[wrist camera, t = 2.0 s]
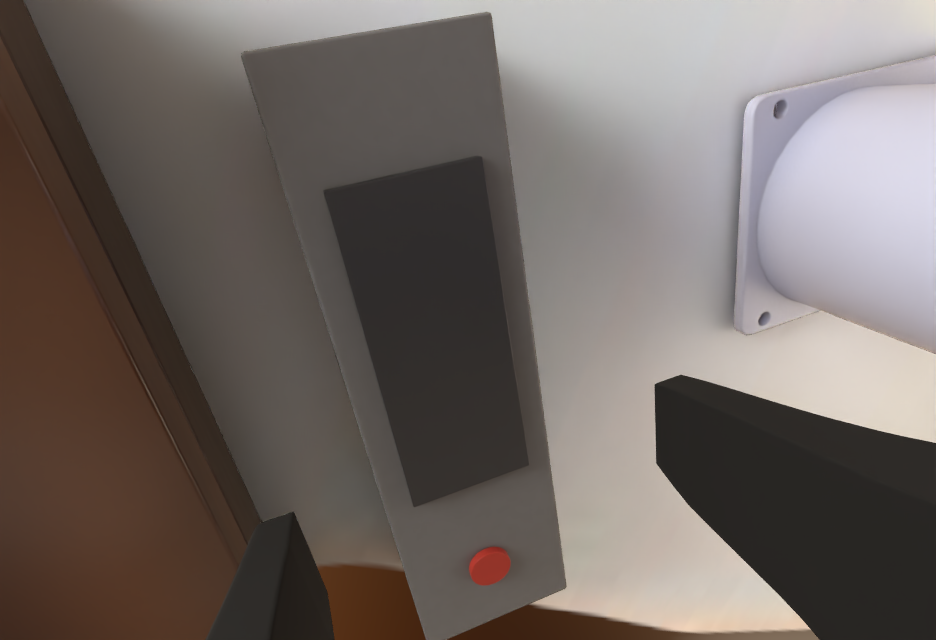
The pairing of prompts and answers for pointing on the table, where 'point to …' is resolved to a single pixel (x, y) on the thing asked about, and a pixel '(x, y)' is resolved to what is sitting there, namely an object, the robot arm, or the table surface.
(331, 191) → the remote
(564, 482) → the table surface
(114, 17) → the table surface
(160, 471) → the wooden tray
